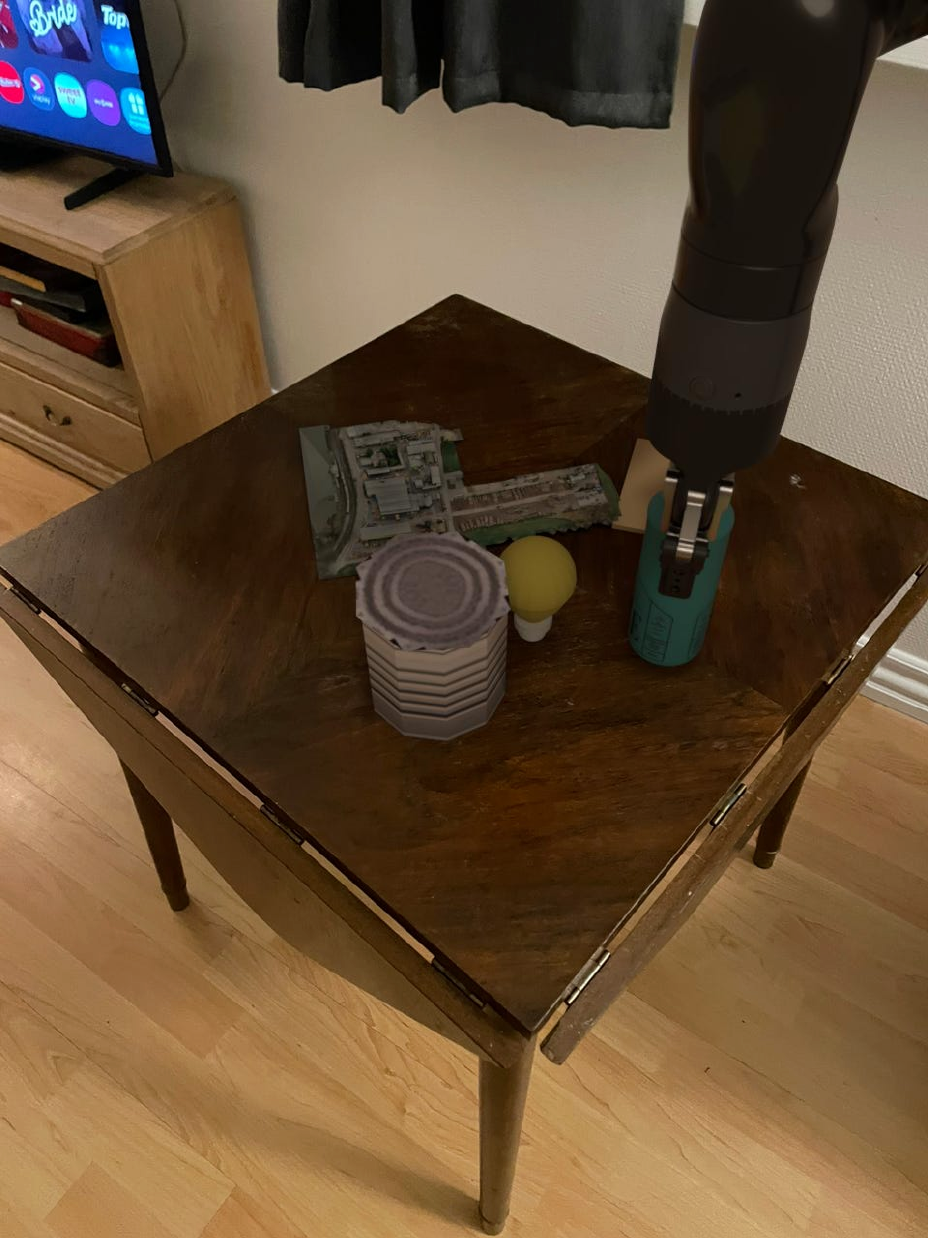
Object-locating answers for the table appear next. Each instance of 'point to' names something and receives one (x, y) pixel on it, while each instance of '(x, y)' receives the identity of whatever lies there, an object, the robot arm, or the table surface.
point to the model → (430, 493)
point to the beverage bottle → (667, 622)
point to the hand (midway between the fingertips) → (674, 589)
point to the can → (434, 632)
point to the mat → (640, 486)
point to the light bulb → (537, 583)
